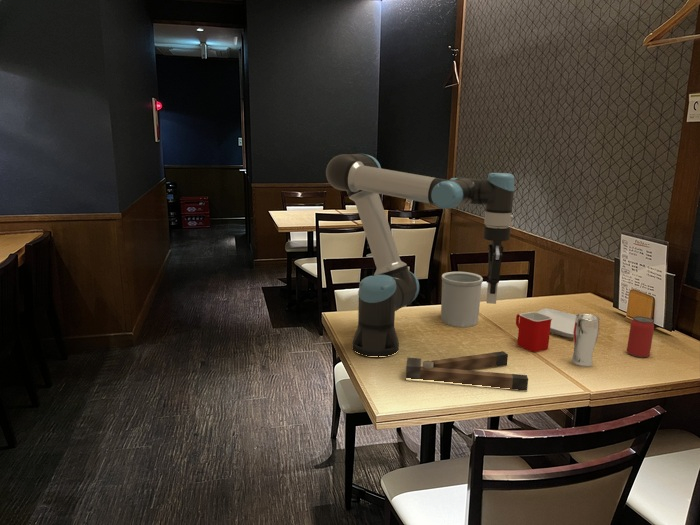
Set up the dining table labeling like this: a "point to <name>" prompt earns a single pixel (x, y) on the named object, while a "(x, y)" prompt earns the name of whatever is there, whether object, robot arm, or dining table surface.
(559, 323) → the salad plate
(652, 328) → the beer can
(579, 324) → the beer glass
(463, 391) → the dining table surface
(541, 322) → the mug
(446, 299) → the utensil holder
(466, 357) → the bar
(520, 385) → the base
